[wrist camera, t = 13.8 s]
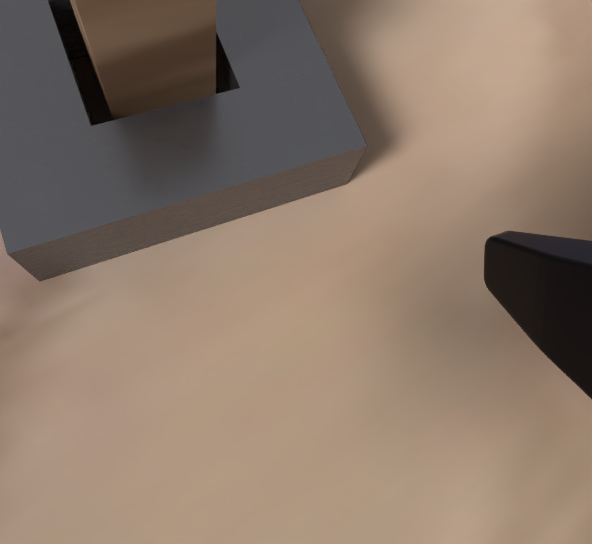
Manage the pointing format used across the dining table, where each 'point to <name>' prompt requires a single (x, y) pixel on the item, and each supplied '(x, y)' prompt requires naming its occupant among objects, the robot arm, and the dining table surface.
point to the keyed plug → (149, 51)
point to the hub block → (161, 138)
